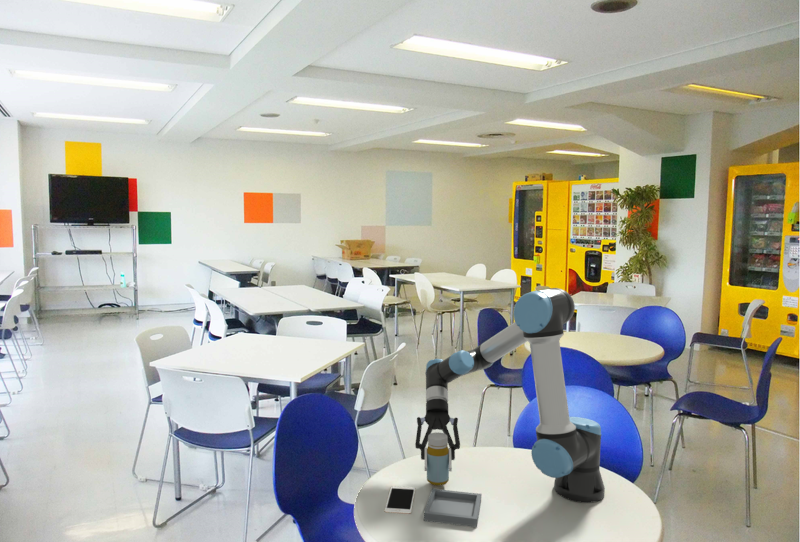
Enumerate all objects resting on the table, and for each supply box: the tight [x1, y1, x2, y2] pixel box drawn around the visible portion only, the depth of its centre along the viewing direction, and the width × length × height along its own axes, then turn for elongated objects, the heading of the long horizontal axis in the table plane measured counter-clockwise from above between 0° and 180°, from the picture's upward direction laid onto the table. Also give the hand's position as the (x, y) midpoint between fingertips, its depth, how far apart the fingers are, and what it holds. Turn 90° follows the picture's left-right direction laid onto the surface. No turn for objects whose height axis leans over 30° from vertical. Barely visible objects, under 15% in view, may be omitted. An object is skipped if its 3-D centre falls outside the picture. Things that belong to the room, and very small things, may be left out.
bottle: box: [426, 432, 450, 487], centre depth 186 cm, size 7×7×15 cm
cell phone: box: [383, 485, 416, 515], centre depth 177 cm, size 8×16×1 cm, turn 174°
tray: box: [423, 488, 482, 528], centre depth 170 cm, size 15×15×2 cm
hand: (438, 469), depth 182 cm, fingers closed on bottle, 7 cm apart
